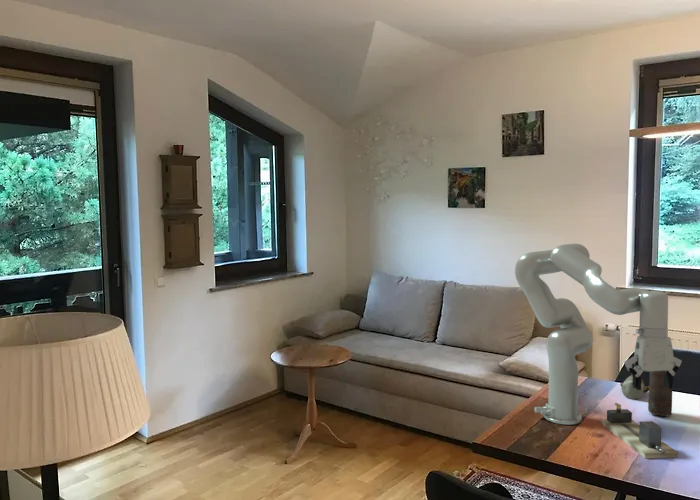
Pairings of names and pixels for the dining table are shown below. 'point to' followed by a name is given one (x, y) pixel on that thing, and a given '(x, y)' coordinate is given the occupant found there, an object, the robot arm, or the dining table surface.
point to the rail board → (631, 437)
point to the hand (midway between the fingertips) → (652, 388)
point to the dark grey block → (650, 434)
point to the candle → (659, 395)
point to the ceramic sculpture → (630, 390)
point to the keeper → (619, 415)
